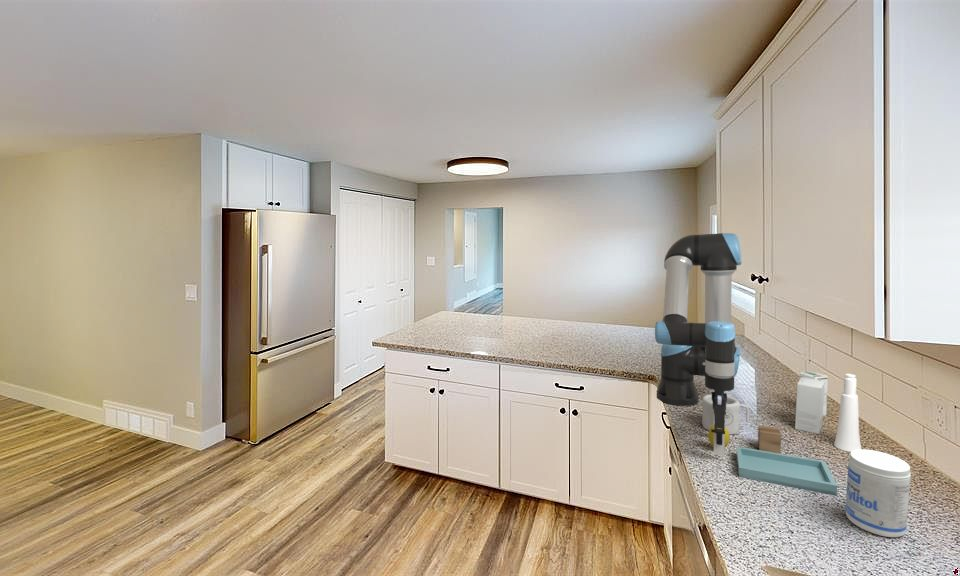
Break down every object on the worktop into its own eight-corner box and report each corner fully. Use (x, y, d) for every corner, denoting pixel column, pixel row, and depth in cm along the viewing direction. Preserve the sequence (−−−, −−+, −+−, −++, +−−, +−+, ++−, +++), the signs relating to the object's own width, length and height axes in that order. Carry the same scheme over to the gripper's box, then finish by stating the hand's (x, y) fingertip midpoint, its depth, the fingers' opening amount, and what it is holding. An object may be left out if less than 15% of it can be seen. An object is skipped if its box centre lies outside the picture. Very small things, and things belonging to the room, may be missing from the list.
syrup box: (797, 411, 149) (798, 372, 148) (811, 410, 150) (812, 370, 149) (812, 418, 144) (814, 376, 142) (827, 416, 145) (828, 375, 143)
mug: (705, 433, 136) (705, 403, 135) (699, 420, 146) (699, 392, 145) (753, 437, 131) (754, 407, 130) (743, 423, 141) (744, 395, 141)
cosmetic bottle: (865, 449, 121) (868, 375, 119) (855, 454, 118) (858, 379, 116) (840, 441, 127) (842, 370, 125) (830, 446, 124) (832, 373, 122)
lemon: (710, 443, 129) (710, 418, 128) (730, 448, 125) (731, 422, 124) (706, 450, 124) (706, 424, 124) (727, 455, 121) (728, 429, 120)
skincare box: (799, 421, 142) (800, 376, 140) (824, 426, 137) (825, 380, 136) (794, 429, 136) (795, 382, 134) (820, 435, 131) (822, 386, 130)
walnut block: (758, 444, 127) (758, 425, 126) (778, 447, 125) (778, 428, 124) (759, 451, 123) (760, 431, 122) (780, 455, 120) (781, 435, 120)
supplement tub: (835, 518, 92) (838, 454, 91) (859, 506, 96) (862, 444, 95) (893, 545, 83) (896, 475, 82) (916, 531, 87) (920, 463, 86)
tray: (736, 454, 121) (736, 446, 121) (824, 469, 111) (824, 460, 111) (738, 476, 110) (739, 467, 110) (836, 495, 100) (837, 485, 100)
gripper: (705, 363, 135) (705, 426, 137) (704, 385, 114) (703, 460, 115) (732, 365, 132) (731, 430, 133) (736, 388, 110) (735, 466, 112)
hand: (718, 444), depth 124 cm, fingers open, 13 cm apart
